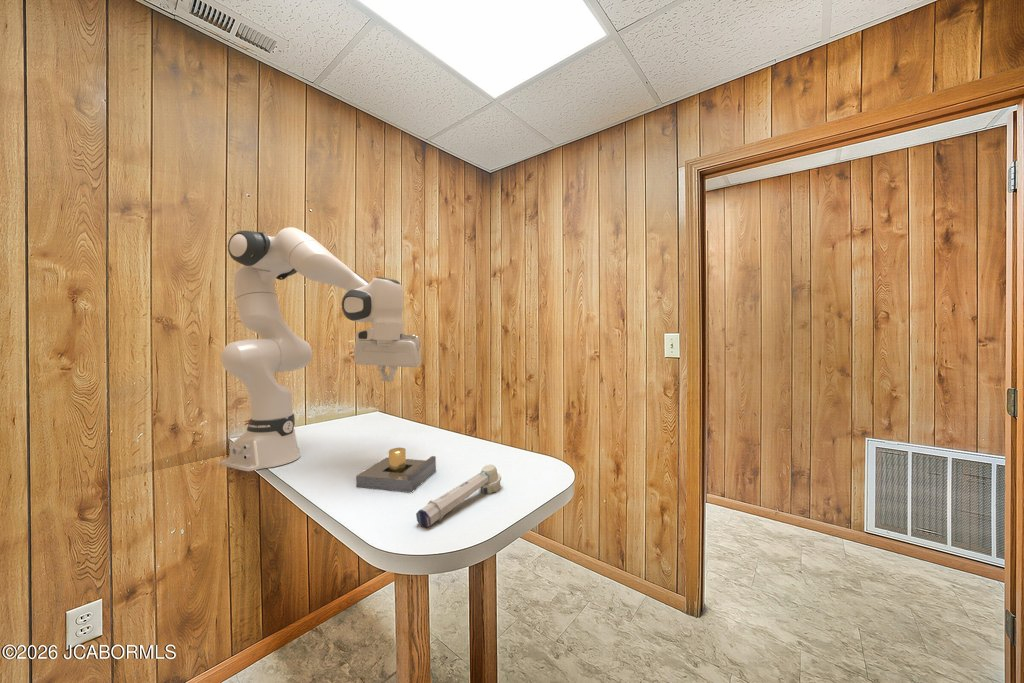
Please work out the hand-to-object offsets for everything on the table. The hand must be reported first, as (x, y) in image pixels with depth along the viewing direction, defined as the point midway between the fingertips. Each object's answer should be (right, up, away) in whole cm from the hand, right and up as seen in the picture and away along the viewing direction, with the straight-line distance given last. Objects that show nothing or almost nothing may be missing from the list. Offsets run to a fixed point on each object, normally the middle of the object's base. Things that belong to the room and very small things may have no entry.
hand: (387, 381), depth 107 cm
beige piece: (+25, -27, -21) cm, 42 cm away
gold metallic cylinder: (+5, -26, -6) cm, 27 cm away
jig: (+5, -26, -6) cm, 27 cm away
